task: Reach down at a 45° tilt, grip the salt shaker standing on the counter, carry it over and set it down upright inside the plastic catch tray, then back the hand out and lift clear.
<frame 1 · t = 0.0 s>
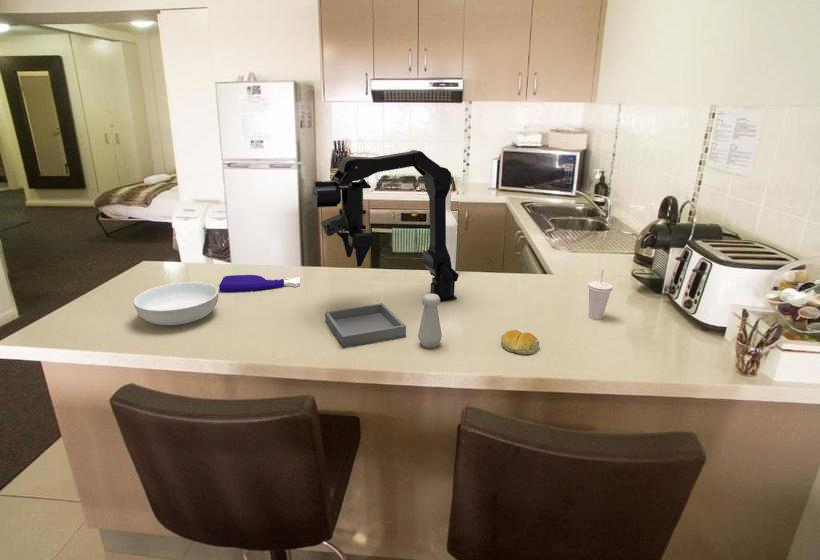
hand: (353, 261, 137), 15 cm above the worktop, tool pointing down, fingers open, 9 cm apart
bread roll: (519, 348, 121), on the worktop
serving bowl: (180, 318, 135), on the worktop
catch tray: (364, 329, 130), on the worktop
salt shaker: (429, 345, 122), on the worktop
spray bottle: (261, 287, 160), on the worktop
smoothie: (595, 317, 139), on the worktop
bottle: (444, 272, 176), on the worktop
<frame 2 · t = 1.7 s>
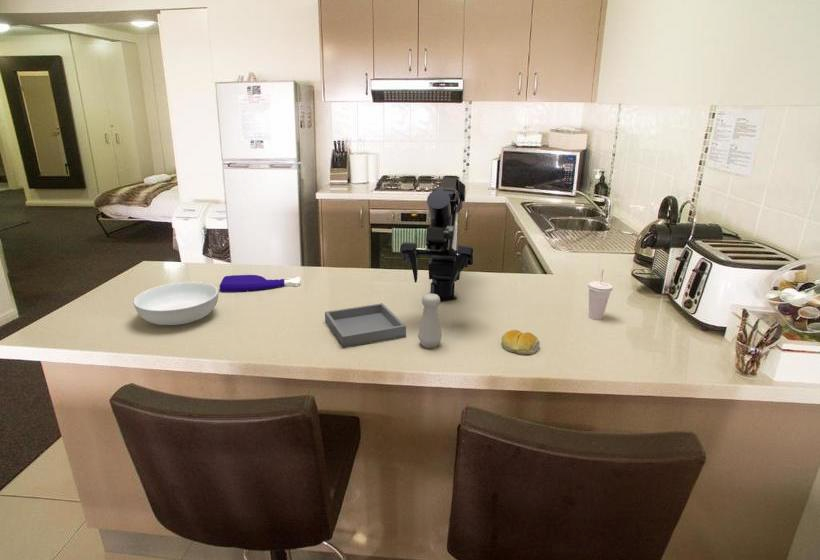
hand: (433, 283, 124), 13 cm above the worktop, tool tilted 45°, fingers open, 9 cm apart
nothing on the worktop moved.
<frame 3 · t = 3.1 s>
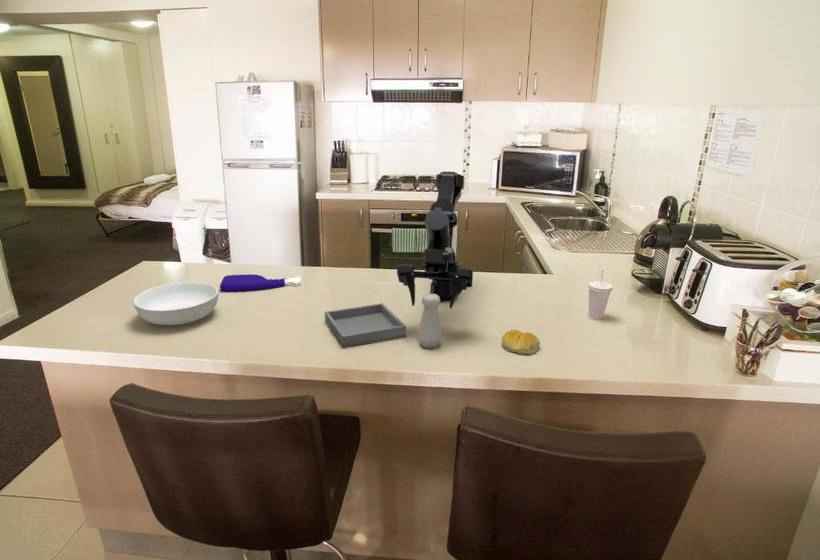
hand: (431, 306, 120), 9 cm above the worktop, tool tilted 45°, fingers open, 9 cm apart
nothing on the worktop moved.
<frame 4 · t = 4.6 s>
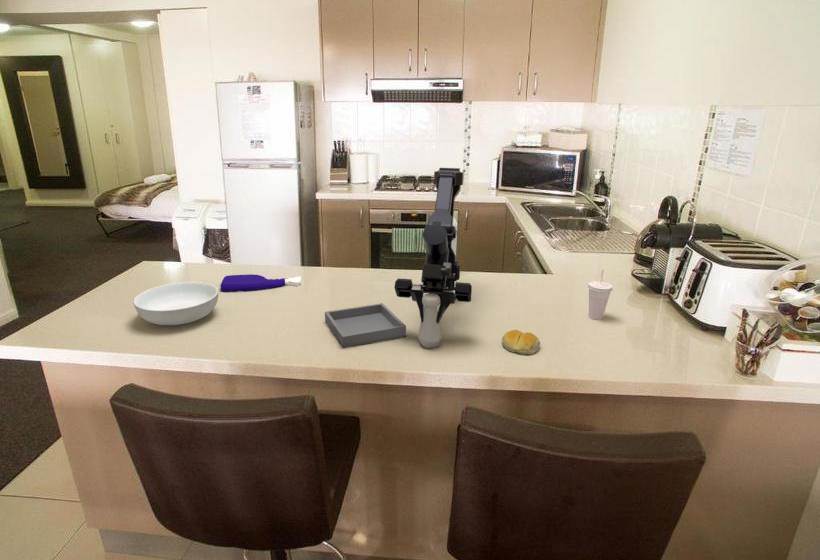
hand: (429, 322, 118), 7 cm above the worktop, tool tilted 45°, fingers closed on salt shaker, 3 cm apart
salt shaker: (429, 345, 122), on the worktop, touching gripper
everything else where it was.
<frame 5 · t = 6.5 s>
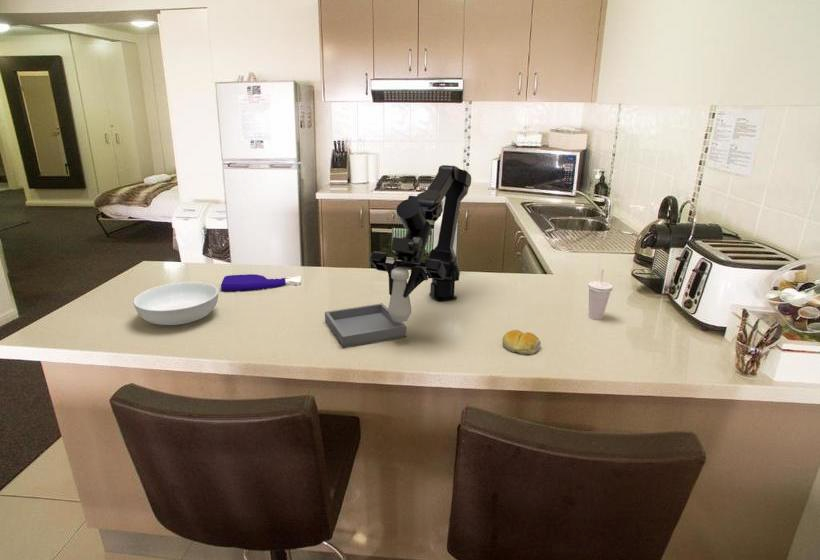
hand: (397, 296, 119), 12 cm above the worktop, tool tilted 45°, fingers closed on salt shaker, 3 cm apart
salt shaker: (399, 319, 122), point 5 cm above the worktop, touching gripper
everything else where it was.
when the fingers open (8 cm above the worktop, at t = 8.5 s): salt shaker drops 1 cm, resting on catch tray.
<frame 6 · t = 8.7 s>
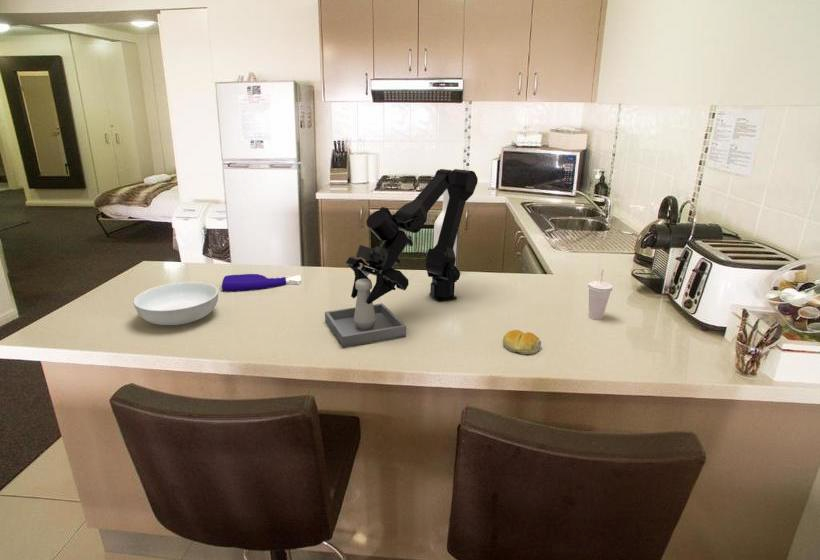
hand: (359, 300, 126), 9 cm above the worktop, tool tilted 45°, fingers open, 5 cm apart
salt shaker: (365, 327, 130), resting on catch tray
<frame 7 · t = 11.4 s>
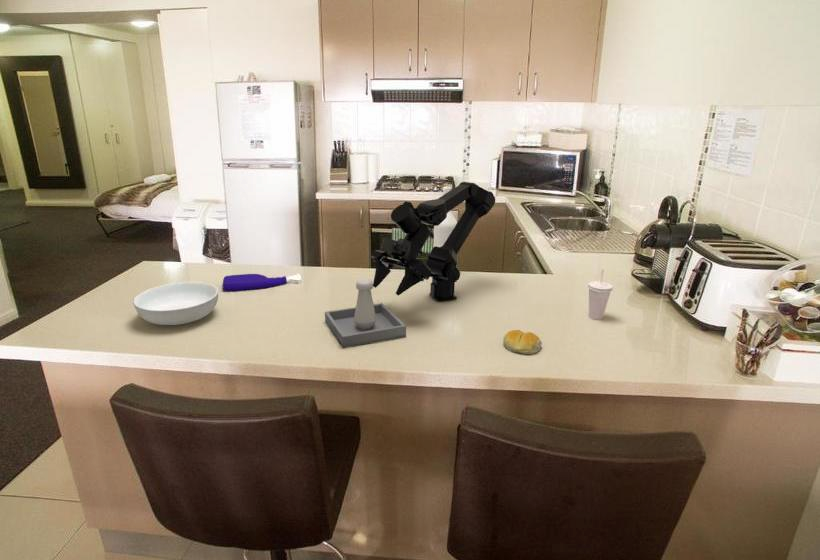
hand: (385, 290, 132), 9 cm above the worktop, tool tilted 45°, fingers open, 9 cm apart
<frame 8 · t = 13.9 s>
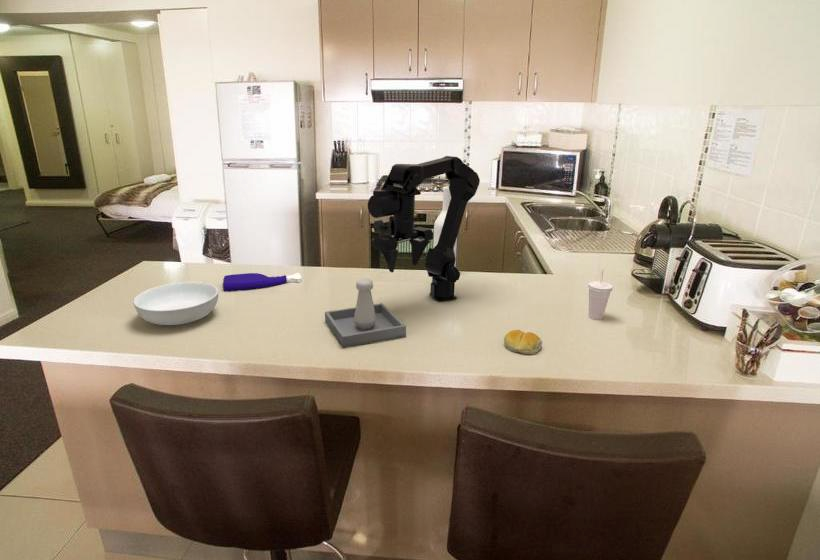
hand: (403, 268, 137), 13 cm above the worktop, tool pointing down, fingers open, 9 cm apart
at the end: salt shaker inside the target area on the catch tray (0.2 cm from its centre), point 0.4 cm above the catch tray's base; salt shaker tilted 0°; the gripper is holding nothing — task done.
